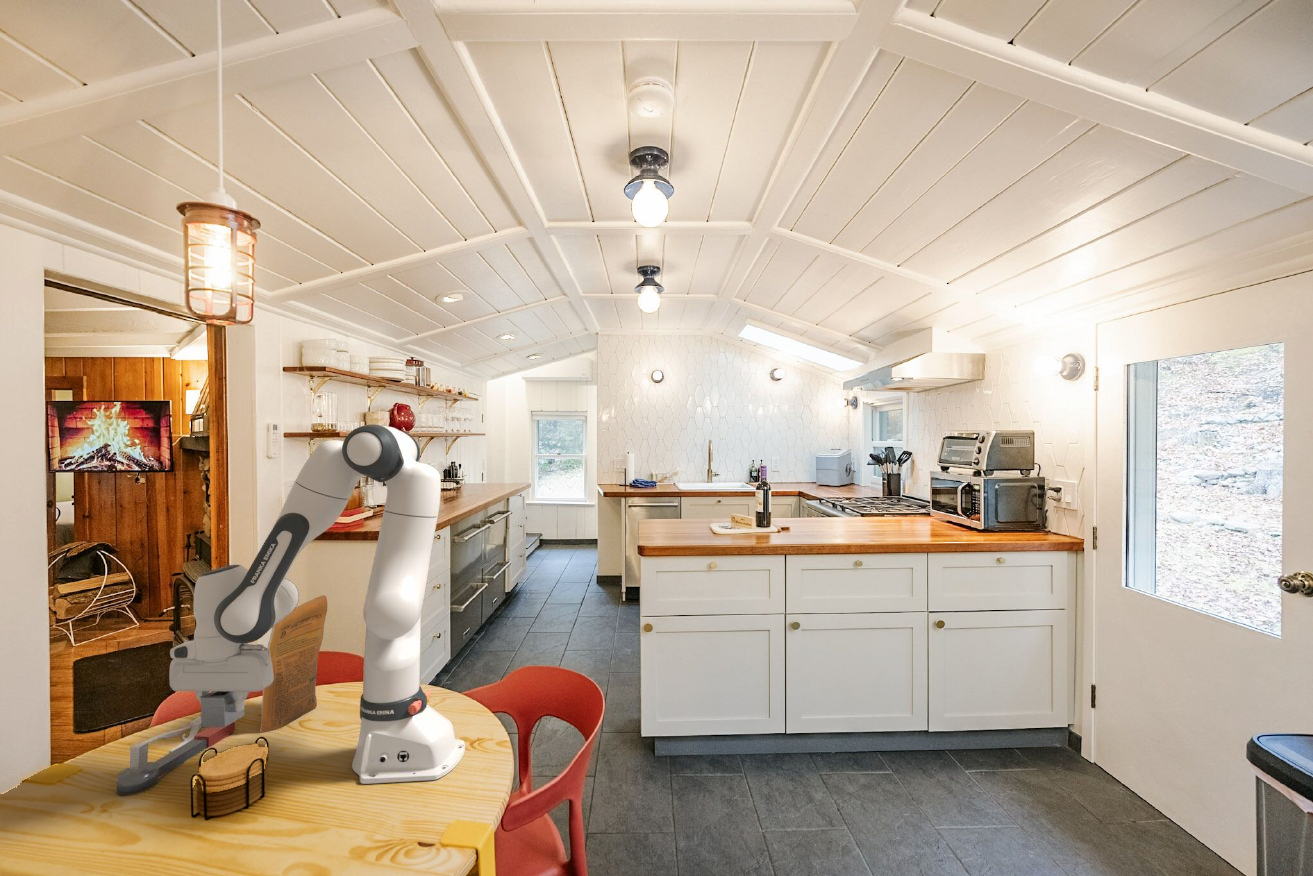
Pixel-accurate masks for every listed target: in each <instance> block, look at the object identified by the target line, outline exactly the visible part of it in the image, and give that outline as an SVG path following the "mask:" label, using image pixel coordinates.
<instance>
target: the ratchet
mask: <svg viewBox="0 0 1313 876" xmlns="http://www.w3.org/2000/svg"><path fill="white" fill-rule="evenodd" d="M235 726H236V721H234V722H232V723H231V724H229V725H227V726H226V727H207V728H206V729H204V730H203V731H200V732H198V734H197V735H195V736H194V739H193V740H191V741H190V742H188V743H186V744H184V745H183V746H181V747H179V748H178V749H176V750H174V751H172V752H171V753H170V752H169V753H167V754H165V755H163V756H162V757H160V758H159V759H157V760H156V761H148V757H149V743H148V742H144V741H139V742H137V743H135V744H134V745H131V746H130V750H129V766H128V767H126V768H125V769H123V770H121V771H120V772H119V773H118V774H117V775H116V795H118V796H121V797H123V796H124V797H125V796H126V797H127V796H132V795H136V794H140V793H144V792H145V791H148V790H150V789H151V788H153V787H154V786H156V785H157V784H158V783H159V779H160V778H161V777H163V776H164V775H165V774H168V773H169V772H170V771H173V769H175V768H177V767H178V766H180V765H181V764H184V763H185V762H187V761H189V760H190V759H193V757H194V756H197V755H198V754H200V753H201V752H203V751H204V749H205V750H206V749H209V748H211V747H213V746H214V745H216V744H217V743H219V742H220V741H223V740H224V739H225V738H227V737H229V736H230V735H232V734H233V733H236V732H235V730H236V729H235V728H236V727H235ZM208 747H209V748H208ZM200 751H201V752H200Z"/></svg>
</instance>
